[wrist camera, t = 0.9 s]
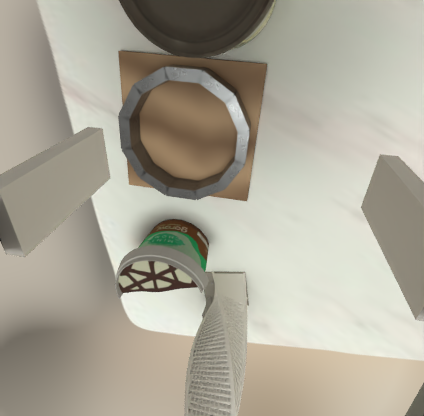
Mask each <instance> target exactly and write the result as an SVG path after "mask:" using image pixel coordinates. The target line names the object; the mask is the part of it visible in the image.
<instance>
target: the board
mask: <svg viewBox="0 0 424 416" xmlns="http://www.w3.org/2000/svg"><path fill="white" fill-rule="evenodd" d="M118 52H119V65H120V77H121V90H122V102H123V105H124V102H125V100H126V98H127V96H128V94H129V92H130V90H131V88H132V86H133V85H134V83H136V82H138V81H140V80H142V79H143V78H145V77H147V76H149V75H150V74H152V73H154V72H156V71H157V70H159V69H161V68H163V67H165V66H169V65H173V64H175V65H185V66H196V67H207V69H208V68H209V69H211V70H212V71H213V72H215V73H216V74H217V75H219V76H220V77H221V78H222V79H224V80H225V81H226V82H228V83H229V84H230V85H232V86H233V87H234V88H235V89H237V91H238V92H239V95H240V97H241V100H242V102H243V104H244V107H245V109H246V112H247V114H248V117H249V119H250V122H251V129H250V136H249V144H248V151H247V157H246V163H245V166H244V167H243V168H242V169H241V171H240V172H239V173H238V174H237V176H236V177H235V178H234V179H233V180H232V182H231V183H230V184H229V185H228V187H227V188H226V189H225V190H223V191H220V192H217V193H214V194H212V195H209V196H214V197H221V198H228V199H235V200H242V201H247V198H248V191H249V184H250V177H251V171H252V164H253V157H254V150H255V144H256V137H257V130H258V123H259V117H260V110H261V103H262V96H263V90H264V83H265V76H266V69H267V64H263V63H252V62H241V61H229V60H218V59H207V58H188V57H183V56H174V55H163V54H152V53H140V52H129V51H118ZM237 91H236V92H237ZM139 116H140V135H141V141H142V143H143V145H144V147H145V148H146V150H147V152H148V153H149V155H150V157H151V159H152V160H153V162H154V163H155V164H156V165H158V166H159V167H161V168H162V169H164V170H165V171H167V172H168V173H169V174H171V175H172V176H174V177H177V178H184V179H191V180H199V181H200V180H202V179H205V178H207V177H210V176H212V175H215V174H218V173H220V172H222V171H223V170H224V168H225V167H226V166H227V165H228V163H229V162H230V161H231V159H232V158H233V157H234V156H235V153H236V144H237V136H238V131H237V129H236V127H235V124H234V122H233V120H232V117H231V115H230V113H229V110H228V108H227V106H226V104H225V102H223V101H222V100H221V99H219V98H218V97H217V96H215V95H214V94H213V93H211V92H210V91H209V90H207V89H206V88H205V87H203V86H202V85H201V84H199V83H192V82H182V81H172V80H169V81H167V82H165V83H163V84H162V85H160V86H158V87H156V88H154V89H152V90H151V92H150V94H149V96H148V98H147V100H146V102H145V104H144V106H143V108H142V109H141V111H140V113H139ZM127 165H128V177H129V185H136V186H143V187H150V188H154V187H152V186H151V185H149V184H148V183H146V182H145V181H143V180H142V179H140V177H138V175H137V174H136V172H135V171H134V169H133V167H132V166H131V164H130V162H129V161H128V159H127Z"/></svg>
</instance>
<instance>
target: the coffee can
mask: <svg viewBox="0 0 424 416" xmlns="http://www.w3.org/2000/svg"><path fill="white" fill-rule="evenodd" d="M119 1H120V3H121V5H122V7H123V9H124V11H125V12H126V14H127V16H128V17H129V19H130V20H131V22H132V23H133V24H134V26H135V27H136V28H137V29H138V30H139V31H140V32H141V33H142V34H143V35H144V36H145V37H146V38H147V39H148V40H149V41H151V42H152V43H153V44H155V45H156V46H158V47H160V48H161V49H163V50H165V51H167V52H170V53H172V54H175V55H178V56H183V57H188V58H205V57H211V56H215V55H219V54H221V53H224V52H226V51H228V50H230V49H234V48H237V47H240V46H242V45H244V44H246V43H248V42H249V41H251V40H252V39H253V38H255V37H256V36H257V35H258V34H259V33H260V31H261V30H262V29H263V28H264V26H265V25H266V23H267V22H268V20H269V18H270V16H271V14H272V12H273V9H274V7H275V4H276V0H119Z"/></svg>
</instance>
